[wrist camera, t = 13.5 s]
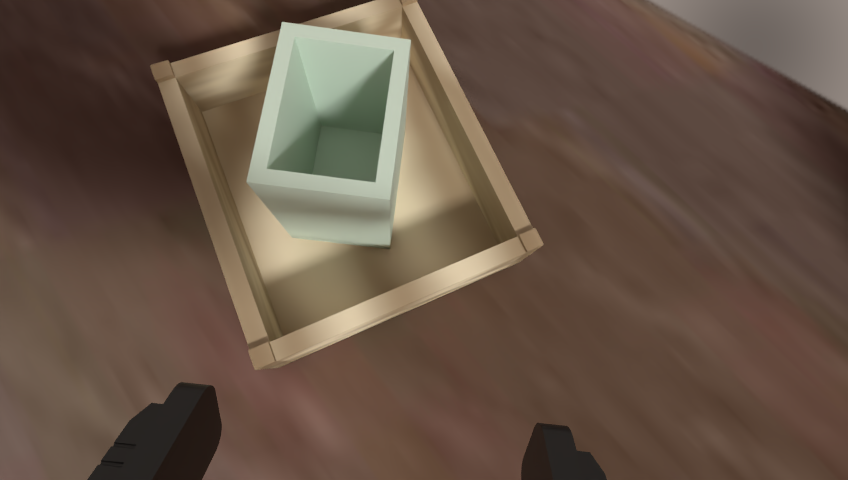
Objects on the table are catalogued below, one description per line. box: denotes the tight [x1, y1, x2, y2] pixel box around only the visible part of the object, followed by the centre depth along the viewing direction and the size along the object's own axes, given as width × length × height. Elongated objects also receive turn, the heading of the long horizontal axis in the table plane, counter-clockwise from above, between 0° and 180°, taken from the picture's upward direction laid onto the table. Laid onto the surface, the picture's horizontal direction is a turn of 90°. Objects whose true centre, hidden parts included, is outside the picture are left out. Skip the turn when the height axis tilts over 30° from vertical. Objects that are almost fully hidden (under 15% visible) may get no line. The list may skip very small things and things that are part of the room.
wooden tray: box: [150, 0, 544, 370], centre depth 27 cm, size 16×18×5 cm
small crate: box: [246, 22, 411, 249], centre depth 24 cm, size 6×8×9 cm
